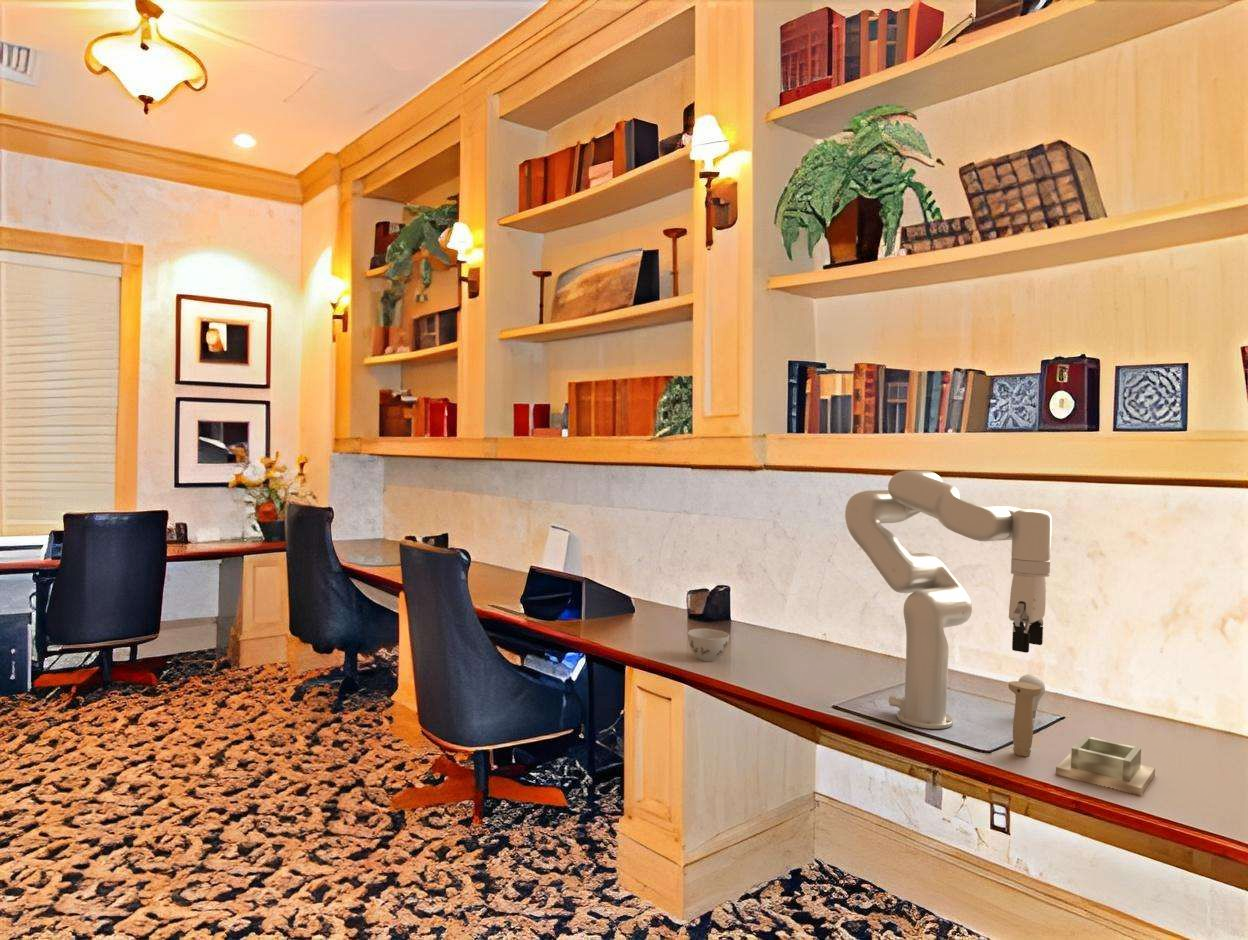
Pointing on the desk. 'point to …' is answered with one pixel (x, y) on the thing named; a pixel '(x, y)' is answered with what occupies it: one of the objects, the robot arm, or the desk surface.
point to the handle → (1023, 716)
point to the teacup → (708, 643)
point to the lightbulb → (1036, 681)
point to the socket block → (1107, 765)
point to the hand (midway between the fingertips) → (1027, 647)
